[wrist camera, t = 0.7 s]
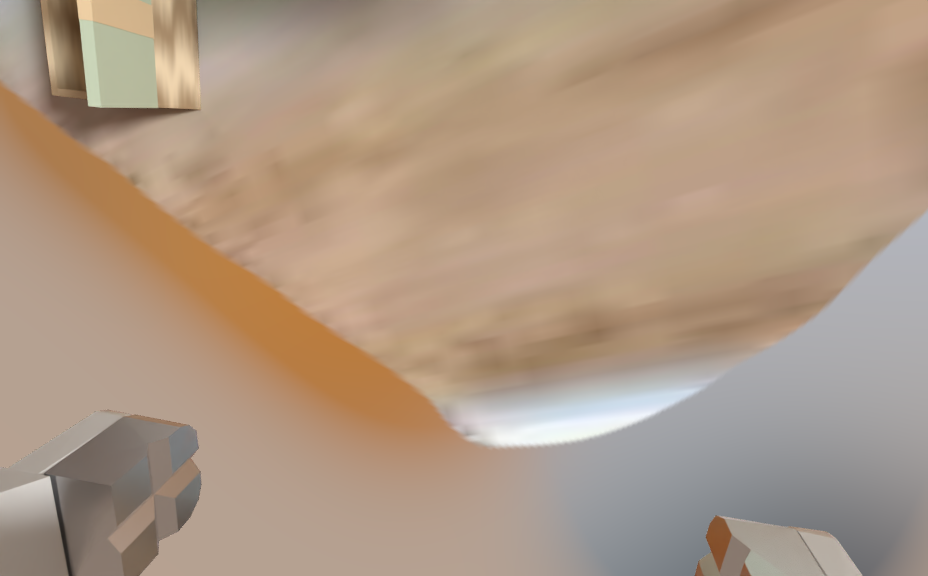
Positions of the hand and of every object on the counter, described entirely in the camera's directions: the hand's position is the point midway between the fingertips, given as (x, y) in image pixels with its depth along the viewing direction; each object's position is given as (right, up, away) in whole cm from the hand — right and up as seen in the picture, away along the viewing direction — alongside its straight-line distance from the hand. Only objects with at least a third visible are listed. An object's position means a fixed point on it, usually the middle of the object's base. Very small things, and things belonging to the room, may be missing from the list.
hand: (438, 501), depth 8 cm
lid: (-25, +23, +29) cm, 45 cm away
